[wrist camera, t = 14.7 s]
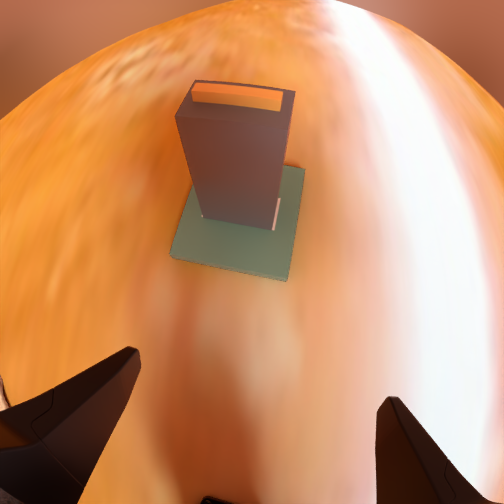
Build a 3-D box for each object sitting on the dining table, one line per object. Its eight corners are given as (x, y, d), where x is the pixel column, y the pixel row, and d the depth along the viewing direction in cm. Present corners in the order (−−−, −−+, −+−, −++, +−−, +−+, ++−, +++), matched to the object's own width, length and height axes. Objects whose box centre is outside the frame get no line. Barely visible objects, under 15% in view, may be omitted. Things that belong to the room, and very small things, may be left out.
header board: (286, 281, 24) (292, 266, 21) (172, 257, 25) (159, 239, 21) (303, 175, 28) (310, 149, 25) (206, 158, 29) (201, 132, 25)
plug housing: (271, 230, 25) (289, 118, 13) (203, 217, 25) (171, 105, 13) (278, 196, 26) (297, 80, 14) (213, 185, 26) (193, 69, 14)
